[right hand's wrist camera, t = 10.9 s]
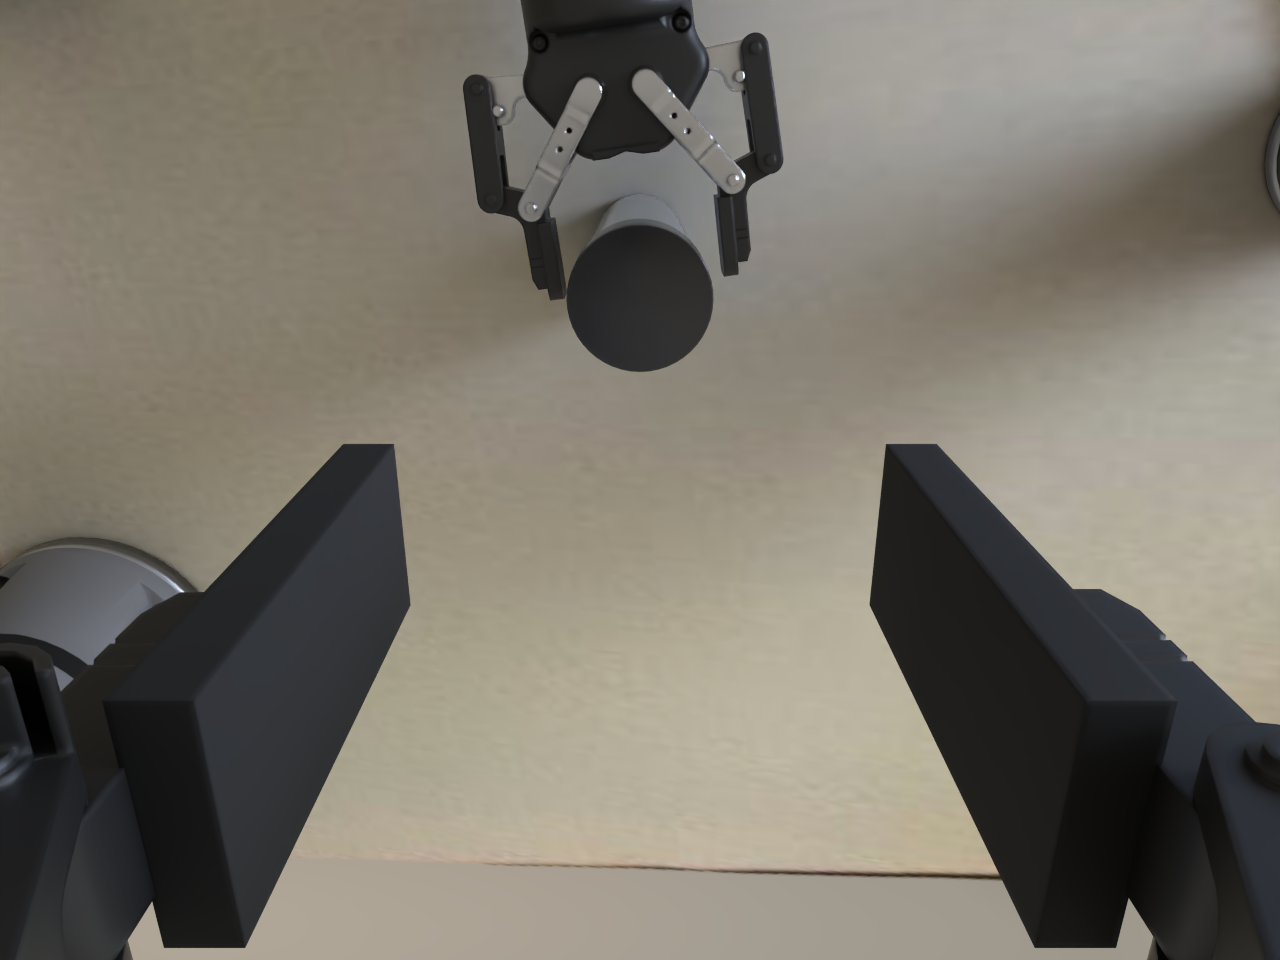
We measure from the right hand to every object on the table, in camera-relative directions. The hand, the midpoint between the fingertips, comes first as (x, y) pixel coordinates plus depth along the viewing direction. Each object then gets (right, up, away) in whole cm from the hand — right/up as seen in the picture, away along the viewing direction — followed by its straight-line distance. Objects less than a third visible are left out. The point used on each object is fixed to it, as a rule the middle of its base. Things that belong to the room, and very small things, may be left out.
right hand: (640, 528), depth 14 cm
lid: (0, +7, +19) cm, 20 cm away
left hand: (0, +10, +31) cm, 33 cm away
